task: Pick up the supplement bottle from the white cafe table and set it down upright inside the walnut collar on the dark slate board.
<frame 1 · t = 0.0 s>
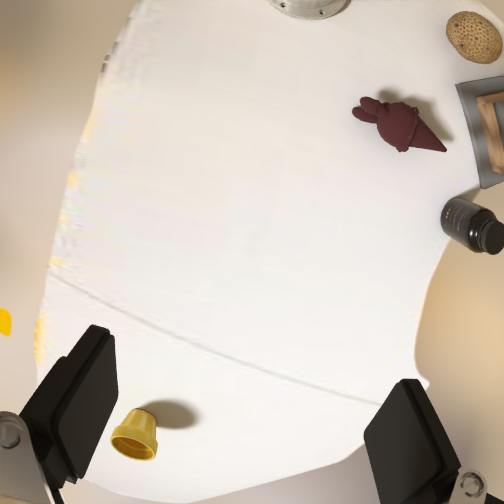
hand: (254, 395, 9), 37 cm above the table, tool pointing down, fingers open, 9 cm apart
supplement bottle: (454, 216, 44), on the table
plant pot: (143, 417, 63), on the table
icecream: (394, 127, 40), on the table
collar board: (502, 127, 38), on the table
natural sponge: (456, 43, 34), on the table
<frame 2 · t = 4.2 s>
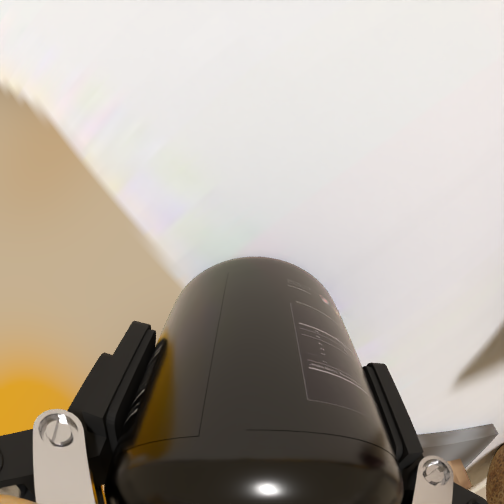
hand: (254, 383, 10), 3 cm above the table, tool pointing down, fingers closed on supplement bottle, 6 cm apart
supplement bottle: (256, 325, 13), on the table, touching gripper
collar board: (355, 494, 19), on the table
when the fingers open (6 cm above the table, at t = 11.4 s): supplement bottle drops 1 cm, resting on collar board.
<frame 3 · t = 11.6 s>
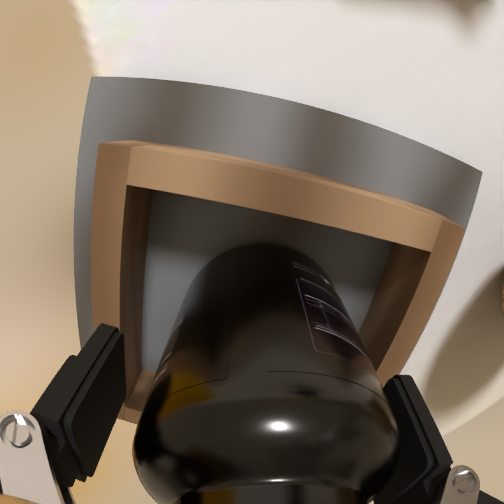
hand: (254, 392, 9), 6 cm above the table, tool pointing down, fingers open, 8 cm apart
supplement bottle: (263, 308, 14), point 1 cm above the table, touching collar board
collar board: (255, 298, 15), on the table
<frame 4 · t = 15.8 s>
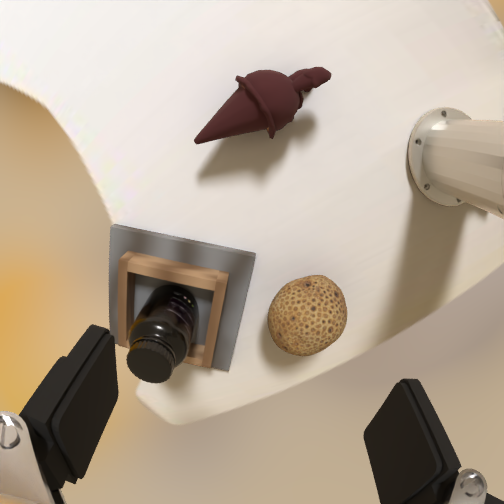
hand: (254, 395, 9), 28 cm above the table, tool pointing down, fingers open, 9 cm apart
supplement bottle: (174, 305, 39), point 1 cm above the table, touching collar board
icecream: (260, 107, 32), on the table
collar board: (173, 301, 40), on the table
natural sponge: (302, 292, 40), on the table
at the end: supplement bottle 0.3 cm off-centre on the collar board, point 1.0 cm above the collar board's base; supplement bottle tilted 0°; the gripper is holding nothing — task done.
